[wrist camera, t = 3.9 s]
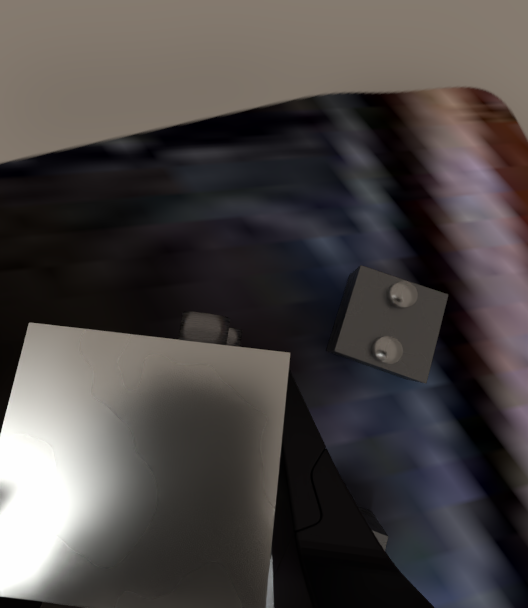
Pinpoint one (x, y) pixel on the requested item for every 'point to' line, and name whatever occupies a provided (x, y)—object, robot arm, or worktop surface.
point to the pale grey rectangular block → (141, 468)
